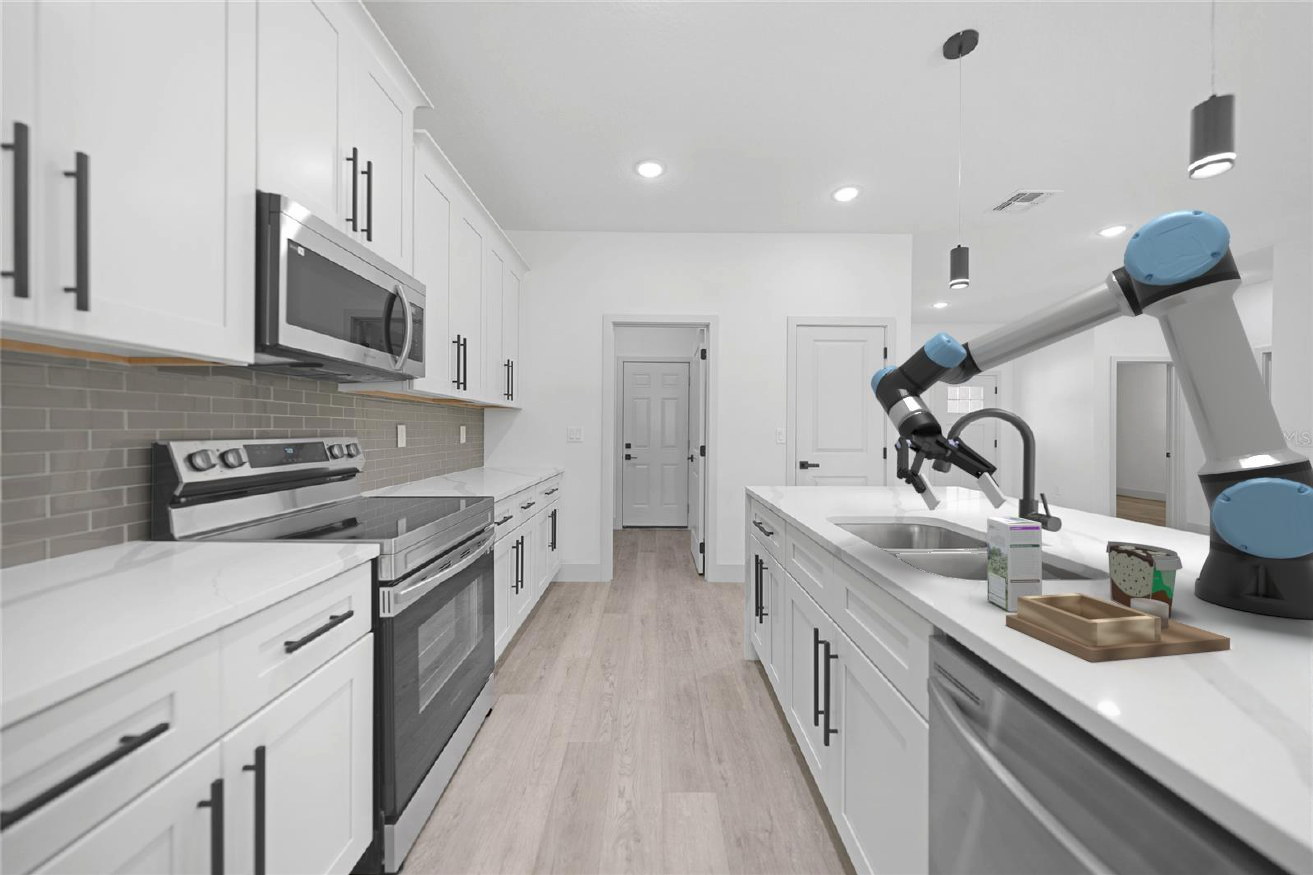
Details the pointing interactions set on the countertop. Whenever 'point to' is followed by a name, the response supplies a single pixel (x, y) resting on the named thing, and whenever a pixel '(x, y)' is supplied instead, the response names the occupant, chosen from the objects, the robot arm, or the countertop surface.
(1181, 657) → the countertop surface
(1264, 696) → the countertop surface
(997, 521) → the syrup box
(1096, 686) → the countertop surface
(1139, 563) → the food container
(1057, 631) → the wooden tray on board
